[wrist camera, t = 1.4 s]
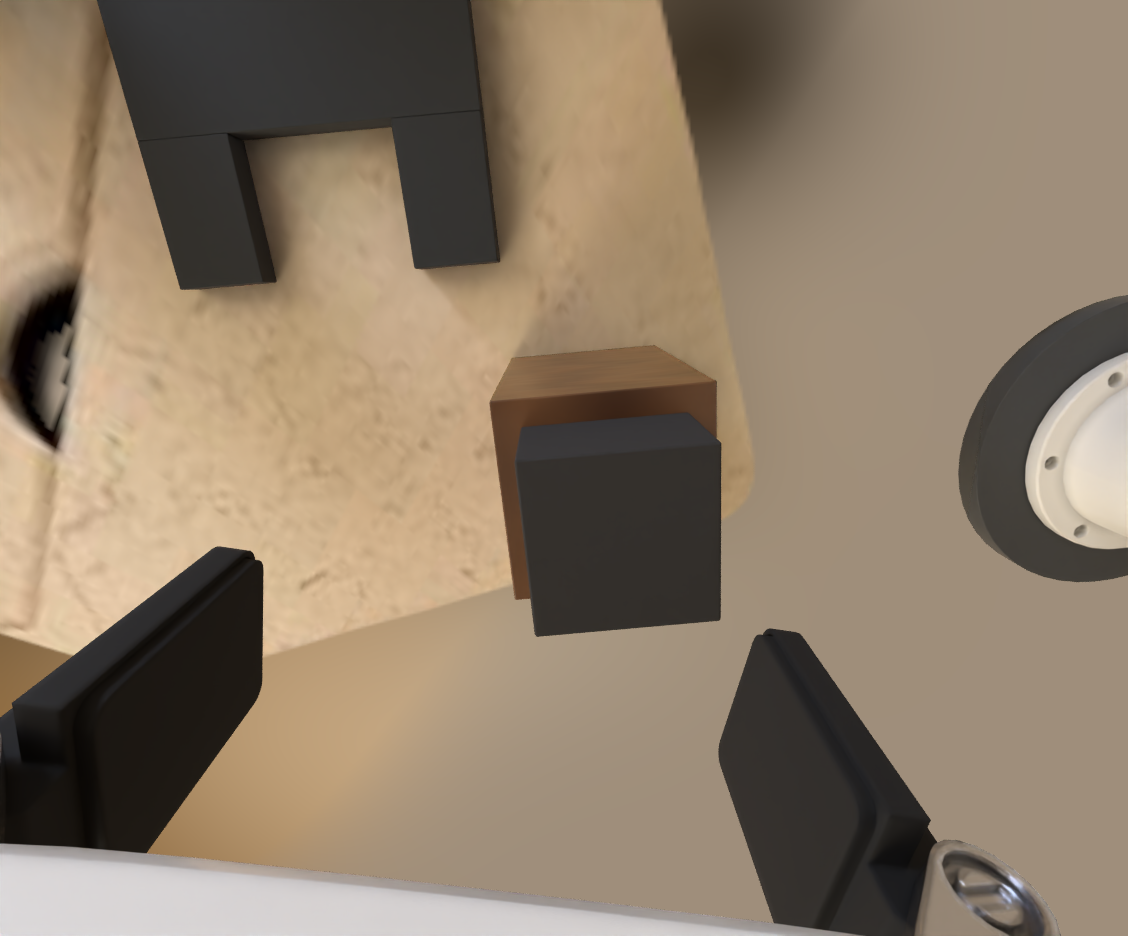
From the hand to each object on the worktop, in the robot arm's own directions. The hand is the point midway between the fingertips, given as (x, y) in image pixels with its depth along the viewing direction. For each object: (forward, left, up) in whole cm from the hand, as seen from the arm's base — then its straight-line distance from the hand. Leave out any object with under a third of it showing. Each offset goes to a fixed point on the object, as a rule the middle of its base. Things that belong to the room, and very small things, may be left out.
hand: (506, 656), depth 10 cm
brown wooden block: (-3, +1, -22) cm, 23 cm away
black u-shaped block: (+9, -15, -22) cm, 28 cm away
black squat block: (-3, +1, -10) cm, 11 cm away
